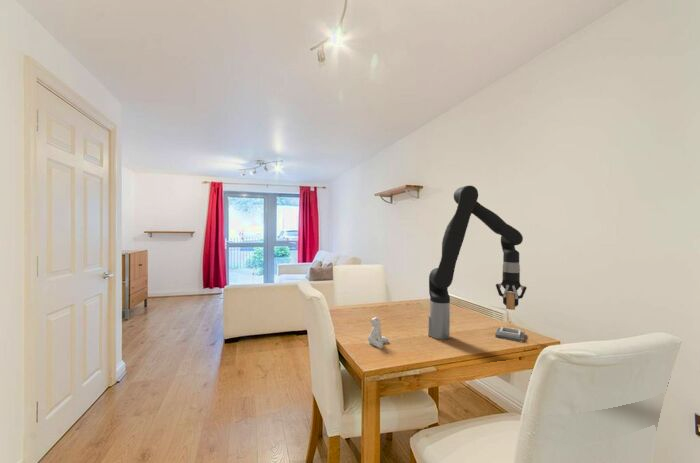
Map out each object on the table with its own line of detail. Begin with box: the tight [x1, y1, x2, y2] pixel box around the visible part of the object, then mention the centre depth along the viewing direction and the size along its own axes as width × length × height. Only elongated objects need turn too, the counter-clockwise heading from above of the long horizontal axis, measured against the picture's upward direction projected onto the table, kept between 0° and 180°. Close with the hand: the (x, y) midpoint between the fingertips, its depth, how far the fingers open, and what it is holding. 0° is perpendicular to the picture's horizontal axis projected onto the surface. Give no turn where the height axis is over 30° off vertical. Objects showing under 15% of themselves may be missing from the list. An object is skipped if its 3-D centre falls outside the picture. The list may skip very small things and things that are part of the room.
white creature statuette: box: [367, 316, 389, 349], centre depth 134 cm, size 10×9×12 cm
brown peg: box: [505, 291, 516, 311], centre depth 146 cm, size 4×4×8 cm
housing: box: [495, 326, 526, 343], centre depth 146 cm, size 12×12×3 cm
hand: (510, 305), depth 146 cm, fingers closed on brown peg, 4 cm apart
